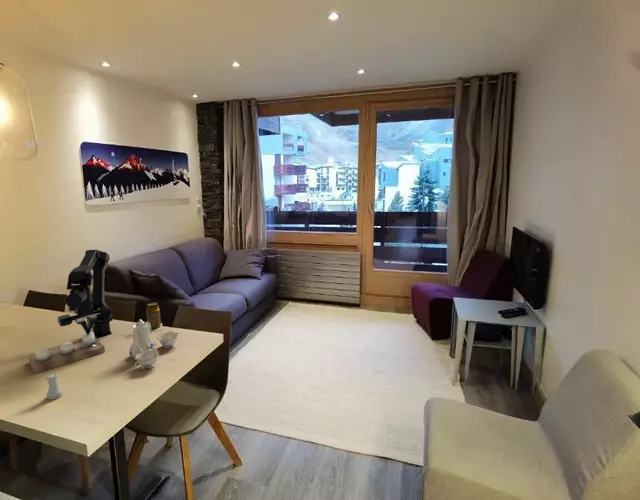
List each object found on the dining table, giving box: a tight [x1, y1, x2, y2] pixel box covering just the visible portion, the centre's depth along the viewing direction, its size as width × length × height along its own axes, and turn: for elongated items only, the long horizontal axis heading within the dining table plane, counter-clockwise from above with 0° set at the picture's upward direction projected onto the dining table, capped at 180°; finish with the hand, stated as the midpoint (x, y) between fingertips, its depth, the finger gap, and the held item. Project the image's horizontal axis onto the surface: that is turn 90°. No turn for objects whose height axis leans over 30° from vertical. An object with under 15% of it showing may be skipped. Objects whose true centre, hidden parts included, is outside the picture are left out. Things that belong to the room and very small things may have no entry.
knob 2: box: [81, 331, 96, 343], centre depth 155 cm, size 4×4×3 cm
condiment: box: [145, 302, 163, 332], centre depth 179 cm, size 7×8×12 cm
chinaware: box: [128, 318, 179, 370], centre depth 150 cm, size 28×17×17 cm, turn 3°
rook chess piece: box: [45, 372, 64, 401], centre depth 123 cm, size 4×4×8 cm
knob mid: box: [59, 341, 74, 354], centre depth 149 cm, size 4×4×3 cm
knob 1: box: [34, 347, 51, 361], centre depth 144 cm, size 4×4×3 cm
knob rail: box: [27, 337, 106, 374], centre depth 150 cm, size 24×12×3 cm, turn 136°
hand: (88, 334), depth 154 cm, fingers closed, pressing on knob 2
